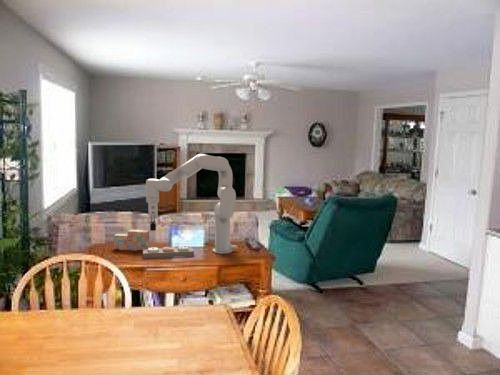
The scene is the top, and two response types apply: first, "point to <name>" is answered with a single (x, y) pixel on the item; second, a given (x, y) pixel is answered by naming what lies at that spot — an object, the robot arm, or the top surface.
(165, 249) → the tile three
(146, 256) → the tile panel
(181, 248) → the tile two
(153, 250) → the tile one
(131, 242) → the stack of blocks
